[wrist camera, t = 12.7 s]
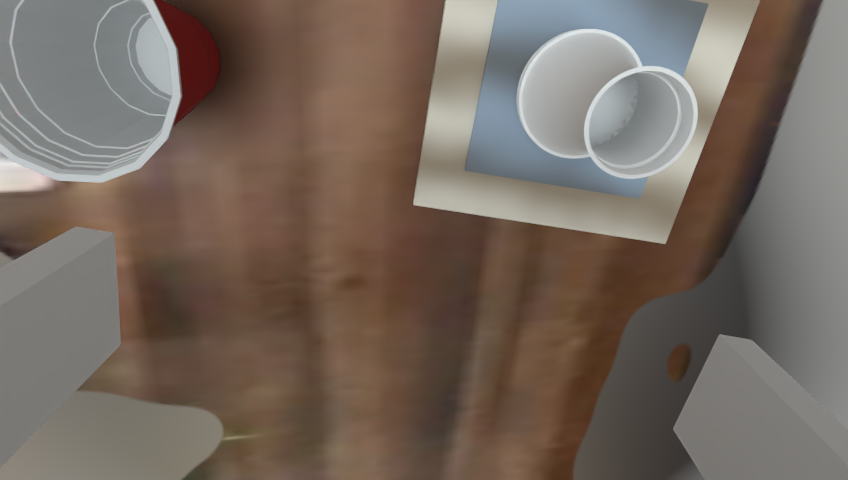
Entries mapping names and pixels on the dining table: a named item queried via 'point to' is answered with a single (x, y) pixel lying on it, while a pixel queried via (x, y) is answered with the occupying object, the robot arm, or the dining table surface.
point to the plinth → (519, 155)
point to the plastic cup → (97, 82)
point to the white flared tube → (605, 104)
